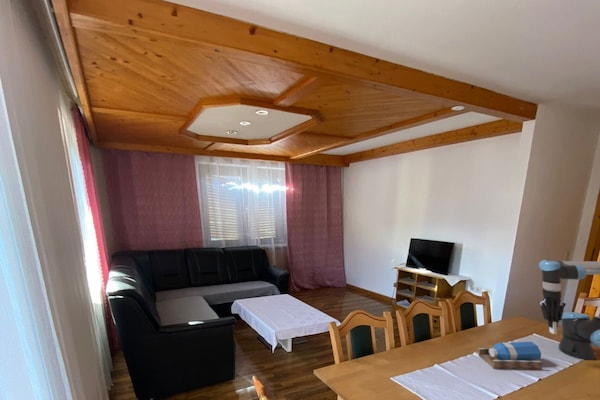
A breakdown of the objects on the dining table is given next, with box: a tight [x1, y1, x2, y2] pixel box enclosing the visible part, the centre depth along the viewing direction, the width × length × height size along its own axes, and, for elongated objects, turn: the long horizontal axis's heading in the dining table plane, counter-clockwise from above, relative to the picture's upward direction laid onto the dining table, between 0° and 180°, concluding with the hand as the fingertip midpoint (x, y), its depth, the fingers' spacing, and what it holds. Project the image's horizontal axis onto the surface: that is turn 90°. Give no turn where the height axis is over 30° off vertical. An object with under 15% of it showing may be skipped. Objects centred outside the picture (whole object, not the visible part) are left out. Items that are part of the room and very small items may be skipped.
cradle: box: [478, 347, 543, 371], centre depth 151 cm, size 24×13×4 cm, turn 89°
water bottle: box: [489, 341, 542, 361], centre depth 152 cm, size 9×9×25 cm
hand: (553, 333), depth 151 cm, fingers closed
